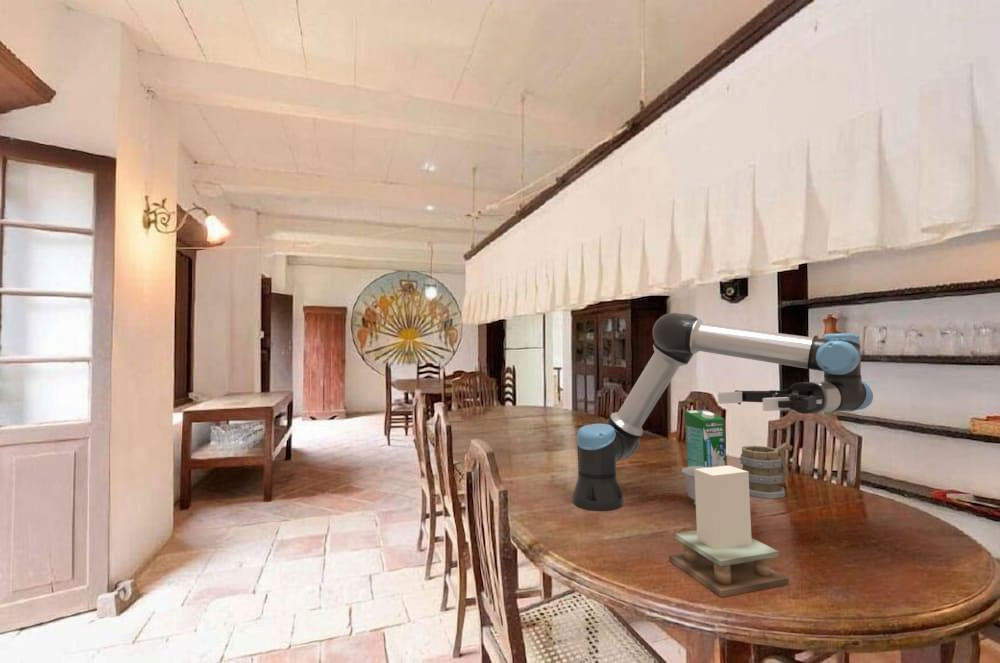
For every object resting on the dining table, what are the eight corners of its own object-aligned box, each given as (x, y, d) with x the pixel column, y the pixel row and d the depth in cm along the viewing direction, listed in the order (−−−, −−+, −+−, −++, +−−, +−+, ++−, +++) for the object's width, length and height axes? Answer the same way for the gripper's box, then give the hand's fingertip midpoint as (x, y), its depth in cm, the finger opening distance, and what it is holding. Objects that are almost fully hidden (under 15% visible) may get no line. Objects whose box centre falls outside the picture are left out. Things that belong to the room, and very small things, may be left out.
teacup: (732, 516, 127) (731, 480, 127) (677, 506, 136) (676, 472, 136) (740, 504, 137) (739, 470, 137) (688, 495, 146) (687, 464, 146)
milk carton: (705, 488, 153) (702, 413, 154) (687, 481, 162) (684, 410, 163) (727, 485, 156) (724, 412, 157) (708, 478, 164) (705, 409, 165)
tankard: (762, 500, 140) (759, 451, 140) (730, 488, 152) (729, 443, 152) (812, 493, 145) (810, 446, 146) (778, 483, 157) (776, 439, 158)
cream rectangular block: (697, 539, 98) (694, 469, 99) (731, 534, 100) (728, 465, 101) (715, 550, 93) (712, 475, 93) (751, 544, 95) (748, 471, 96)
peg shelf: (669, 560, 102) (668, 532, 102) (728, 550, 106) (727, 523, 106) (721, 597, 86) (719, 564, 87) (788, 584, 90) (787, 552, 91)
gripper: (865, 420, 99) (787, 426, 94) (770, 406, 123) (703, 410, 118) (864, 386, 99) (786, 389, 94) (769, 378, 123) (703, 381, 118)
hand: (740, 401), depth 106 cm, fingers open, 13 cm apart
